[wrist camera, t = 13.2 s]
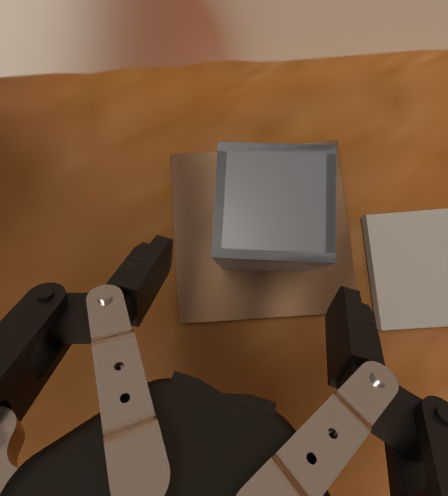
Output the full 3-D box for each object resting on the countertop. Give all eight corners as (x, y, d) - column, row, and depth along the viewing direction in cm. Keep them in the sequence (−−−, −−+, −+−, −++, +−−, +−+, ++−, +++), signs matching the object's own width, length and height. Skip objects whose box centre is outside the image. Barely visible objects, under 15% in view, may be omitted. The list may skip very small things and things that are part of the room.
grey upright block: (221, 268, 24) (211, 257, 15) (225, 193, 25) (217, 142, 16) (300, 272, 24) (335, 263, 15) (301, 196, 25) (336, 144, 16)
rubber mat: (375, 328, 24) (381, 330, 23) (361, 217, 25) (366, 215, 24) (493, 321, 24) (504, 322, 23) (473, 208, 25) (482, 205, 24)
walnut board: (181, 322, 25) (178, 323, 24) (172, 160, 27) (170, 155, 26) (354, 310, 24) (359, 311, 23) (333, 145, 26) (337, 140, 25)
